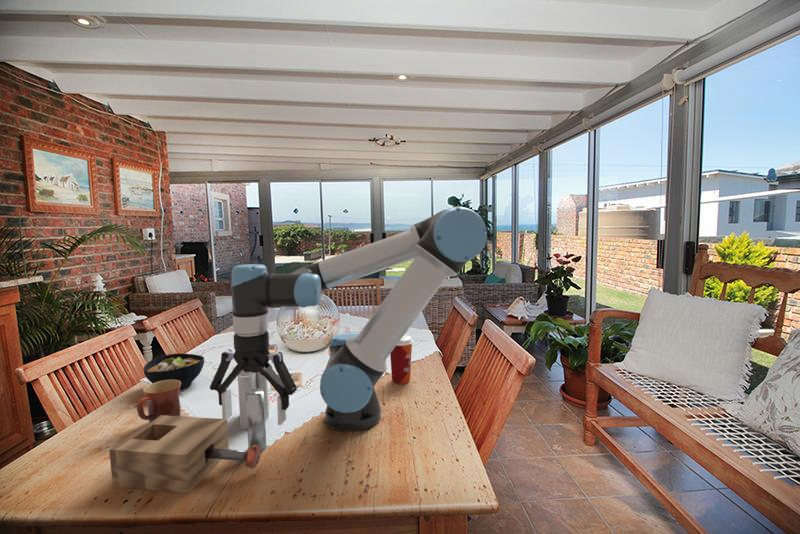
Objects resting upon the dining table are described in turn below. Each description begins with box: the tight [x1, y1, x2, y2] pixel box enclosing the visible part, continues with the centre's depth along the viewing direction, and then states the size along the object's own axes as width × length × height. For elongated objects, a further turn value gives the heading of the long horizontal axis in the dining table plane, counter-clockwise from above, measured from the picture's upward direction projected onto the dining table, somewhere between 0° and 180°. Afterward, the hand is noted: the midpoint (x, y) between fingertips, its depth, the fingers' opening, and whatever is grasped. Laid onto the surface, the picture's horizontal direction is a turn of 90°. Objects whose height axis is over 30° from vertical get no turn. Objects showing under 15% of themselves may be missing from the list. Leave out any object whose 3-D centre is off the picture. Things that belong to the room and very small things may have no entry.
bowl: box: [143, 353, 205, 392], centre depth 125 cm, size 17×17×10 cm
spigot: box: [245, 388, 267, 453], centre depth 90 cm, size 4×4×14 cm
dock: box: [108, 415, 230, 494], centre depth 83 cm, size 17×14×8 cm
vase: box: [237, 367, 270, 429], centre depth 104 cm, size 11×7×20 cm, turn 19°
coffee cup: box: [389, 334, 414, 385], centre depth 128 cm, size 8×8×15 cm
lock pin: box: [205, 445, 262, 469], centre depth 81 cm, size 14×4×4 cm, turn 83°
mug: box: [136, 380, 181, 424], centre depth 101 cm, size 12×9×10 cm
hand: (254, 420), depth 90 cm, fingers open, 13 cm apart
